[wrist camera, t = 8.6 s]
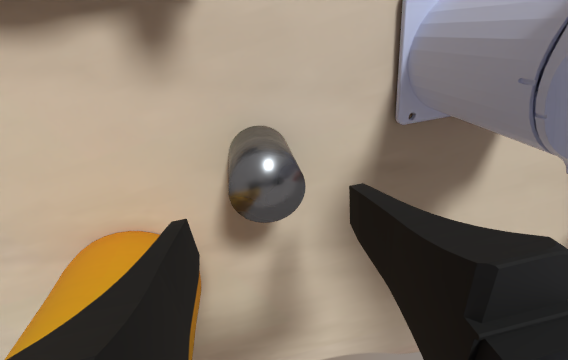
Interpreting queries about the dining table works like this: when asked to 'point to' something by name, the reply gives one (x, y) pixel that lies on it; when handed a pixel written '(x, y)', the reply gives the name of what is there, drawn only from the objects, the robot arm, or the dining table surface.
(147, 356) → the robot arm
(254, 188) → the cylinder
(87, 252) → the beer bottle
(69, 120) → the dining table surface
